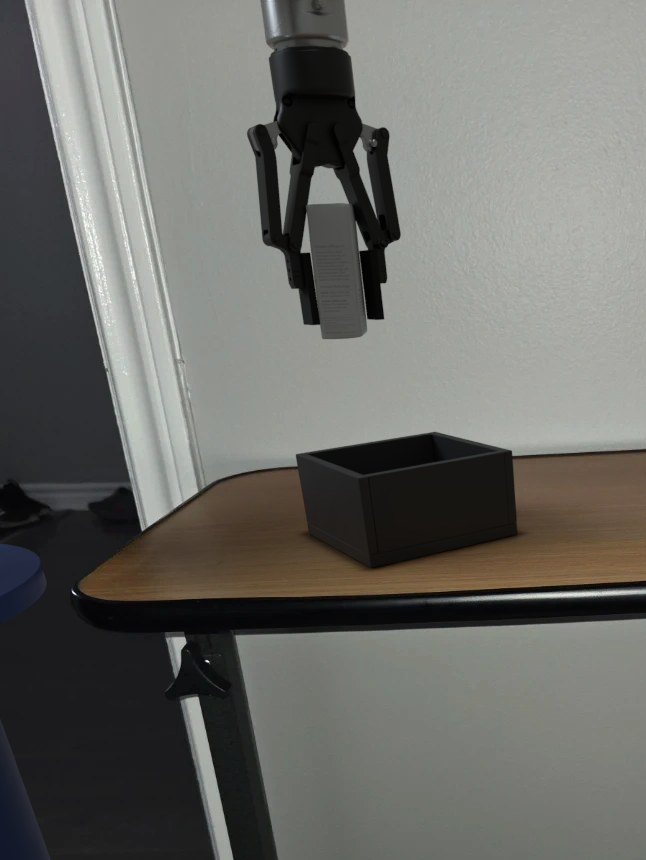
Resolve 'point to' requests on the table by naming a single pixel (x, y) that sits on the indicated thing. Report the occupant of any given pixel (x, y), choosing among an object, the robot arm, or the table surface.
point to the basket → (408, 496)
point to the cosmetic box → (337, 270)
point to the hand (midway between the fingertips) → (344, 321)
